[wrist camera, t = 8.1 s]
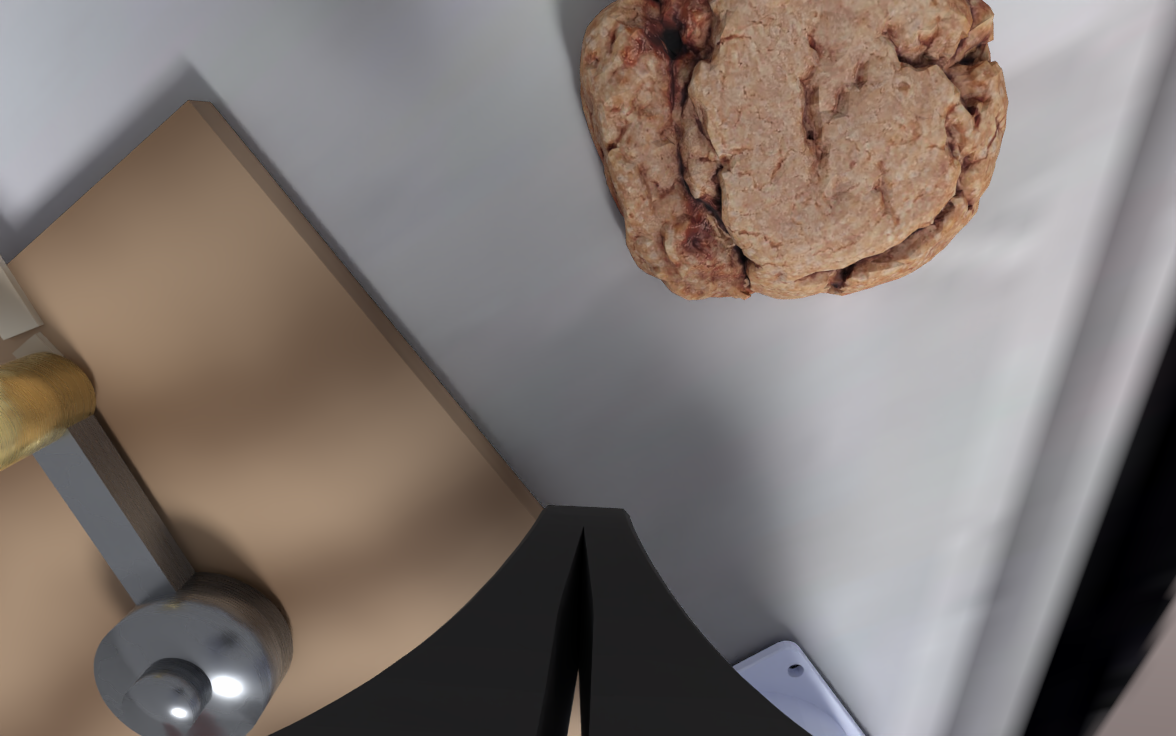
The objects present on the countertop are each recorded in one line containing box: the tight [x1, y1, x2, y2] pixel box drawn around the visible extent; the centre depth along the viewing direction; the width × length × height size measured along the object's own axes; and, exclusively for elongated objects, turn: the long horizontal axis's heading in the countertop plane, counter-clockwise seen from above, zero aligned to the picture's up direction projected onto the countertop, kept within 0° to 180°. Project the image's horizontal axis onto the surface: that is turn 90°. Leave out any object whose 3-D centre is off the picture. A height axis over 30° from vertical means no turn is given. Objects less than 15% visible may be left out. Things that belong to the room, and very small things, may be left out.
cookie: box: [580, 0, 1008, 300], centre depth 17 cm, size 10×11×3 cm
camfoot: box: [0, 352, 293, 736], centre depth 19 cm, size 13×5×4 cm, turn 21°
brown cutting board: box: [0, 100, 581, 736], centre depth 23 cm, size 25×22×1 cm
